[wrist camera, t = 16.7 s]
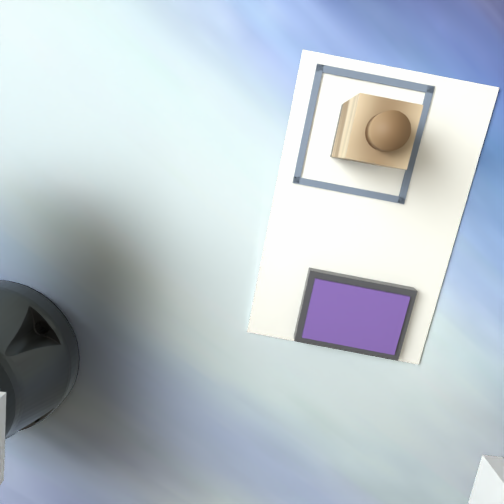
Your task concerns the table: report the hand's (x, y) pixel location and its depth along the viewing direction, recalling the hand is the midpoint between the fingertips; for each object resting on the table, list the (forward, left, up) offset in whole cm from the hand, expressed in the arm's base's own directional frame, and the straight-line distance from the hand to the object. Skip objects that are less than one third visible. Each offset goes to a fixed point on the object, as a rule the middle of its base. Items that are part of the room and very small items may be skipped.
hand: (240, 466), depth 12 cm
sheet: (+9, +4, -31) cm, 32 cm away
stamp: (+7, +11, -30) cm, 33 cm away
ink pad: (+10, -5, -30) cm, 32 cm away
